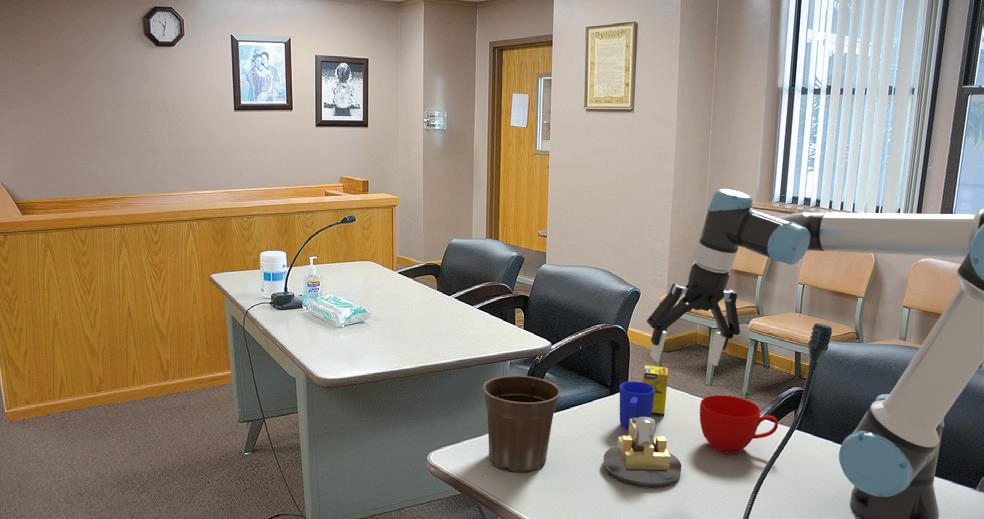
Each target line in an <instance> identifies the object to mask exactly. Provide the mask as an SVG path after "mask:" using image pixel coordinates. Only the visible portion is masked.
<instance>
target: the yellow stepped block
mask: <svg viewBox="0 0 984 519" xmlns="http://www.w3.org/2000/svg"><path fill="white" fill-rule="evenodd" d="M636 419H637V418H632V419H630V421H629V430H628V434H627V435H621V436H617V445H616V446H617V451H618V453H619V455H620V457H621V460H622V462H623V464H624V467H625V469H650V470H669V466H670V455H669V453H670V452H669V451H668V450H667V439H666V437H665V436H659V435H658V436H657V435H656V436H654V445H652V444H642V452H633V450H634V438H635V426H636ZM668 452H669V453H668Z"/></svg>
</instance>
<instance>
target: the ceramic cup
mask: <svg viewBox="0 0 984 519" xmlns="http://www.w3.org/2000/svg"><path fill="white" fill-rule="evenodd" d="M765 420H771V421H773V423H774V426H773V427H772V428H771V429H770V430H769V431H766V432H763V433H762V432H761V433H757V434H756V432H757V429H758V427H759V426H760V424H761V423H762V422H764V421H765ZM699 422H700V428H701V431H702V434H703V437H704V438H705V440H706V441H707V442H708V444H709V445H710V448H712V449H713V450H715V451H717V452H720V453H722V454H731V455H732V454H738V453H740V452H741V451H742V450H744V449H745V448H746V447H748V445H749V444H750V443H751V442H752V440H753V439H762V438H766V437H769V436H771V435H773V434H774V433H775V432H776V431H777V429H778V427H779V422H778V420H777V418H776V417H774V416H773V415H769V414H768V415H762V416H761V408H760V407H759V406H758V405H757V404H756V403H754V402H752V401H749V400H747V399H744V398H741V397H737V396H731V395H722V394H721V395H719V394H718V395H709V396H706V397H704V398H702V399H701V401H700V403H699Z"/></svg>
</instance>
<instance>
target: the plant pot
mask: <svg viewBox="0 0 984 519" xmlns="http://www.w3.org/2000/svg"><path fill="white" fill-rule="evenodd" d="M482 391H483V393H484V396H485V397H484V398H485V407H486V410H487V411H486V412H487V428H488V430H487V431H488V434H487V435H488V458H489V460H490V462H491V463H492V464H493V465H494V466H496V467H497V468H499V469H502V470H503V469H504V470H505V469H509V470H510V471H511V472H518V473H519V472H520V473H521V472H523V473H524V472H525V473H526V472H532V471H535V470H539V469H540V468H543V466H544V464H545V463H546V462H547V455H548V450H549V449H548V448H549V443H550V435H551V430H552V425H553V424H552V423H553V420H554V413H555V412H556V409H557V403H558V400H559V398H560V397H561V393H562V392H561V389H560V387H559V386H558V385H556V384H554V383H553V382H550V381H548V380H546V379H542V378H538V377H534V376H528V375H527V376H525V375H505V376H498V377H494V378H491V379H489V380H486V382H484V384H483V386H482Z"/></svg>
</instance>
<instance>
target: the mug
mask: <svg viewBox="0 0 984 519" xmlns="http://www.w3.org/2000/svg"><path fill="white" fill-rule="evenodd" d="M654 394H655V388H654V387H653V386H651V385H649V384H646V383H643V381H634V380H633V381H626V382H622V383H620V384H619V424H620V426H621V427H622V428H623V429H625V430H627V431H629V421H630V419H632V418H638V417H649V418H652V415H651V411H652V405H653V399H654Z"/></svg>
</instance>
